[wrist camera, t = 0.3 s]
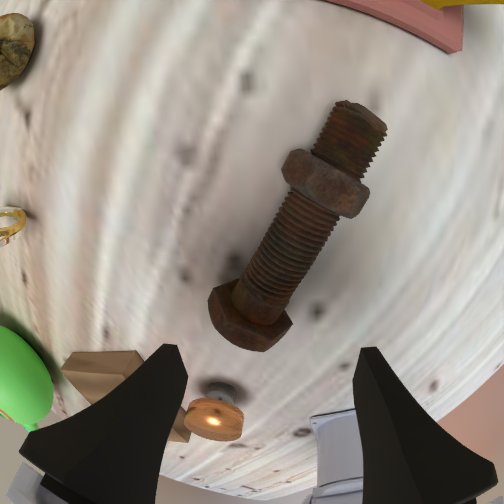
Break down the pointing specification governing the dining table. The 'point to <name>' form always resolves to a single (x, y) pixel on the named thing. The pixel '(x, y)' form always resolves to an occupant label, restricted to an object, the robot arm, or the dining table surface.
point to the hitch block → (111, 380)
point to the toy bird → (23, 382)
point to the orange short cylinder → (215, 414)
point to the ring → (14, 230)
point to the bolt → (299, 228)
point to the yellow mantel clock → (422, 17)
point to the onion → (14, 46)
